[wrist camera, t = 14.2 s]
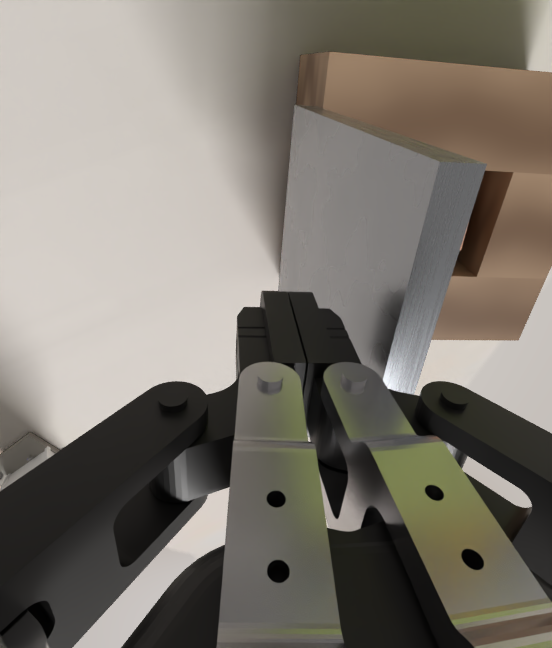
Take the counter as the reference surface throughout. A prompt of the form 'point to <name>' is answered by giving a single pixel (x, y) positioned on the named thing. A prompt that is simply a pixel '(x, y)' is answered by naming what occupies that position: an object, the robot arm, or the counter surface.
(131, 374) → the counter surface
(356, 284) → the panel
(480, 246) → the hole block
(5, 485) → the skyscraper
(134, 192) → the counter surface
